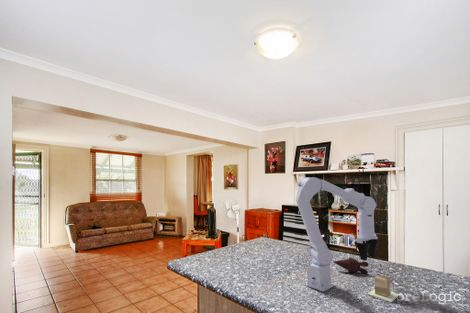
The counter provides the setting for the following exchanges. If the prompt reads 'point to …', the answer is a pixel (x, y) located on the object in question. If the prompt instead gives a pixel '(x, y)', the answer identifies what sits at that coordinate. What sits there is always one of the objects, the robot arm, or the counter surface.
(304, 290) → the counter surface
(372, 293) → the coaster
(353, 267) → the icecream
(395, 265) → the counter surface
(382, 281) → the block
